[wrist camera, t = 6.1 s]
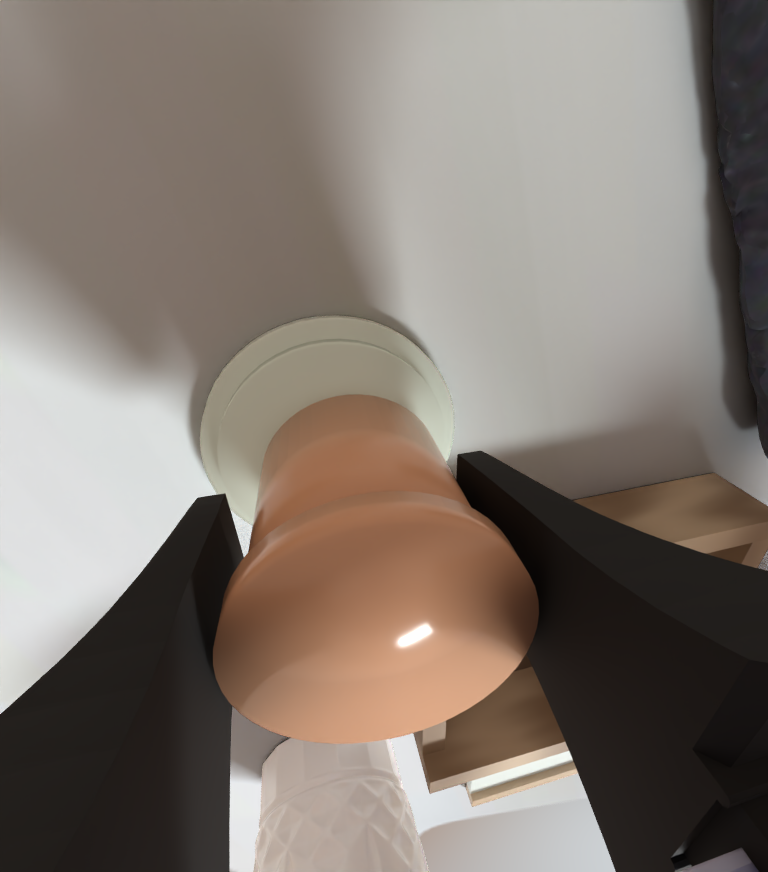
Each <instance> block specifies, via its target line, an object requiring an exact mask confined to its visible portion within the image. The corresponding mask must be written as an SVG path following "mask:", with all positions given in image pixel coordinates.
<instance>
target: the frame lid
mask: <svg viewBox="0 0 768 872" xmlns="http://www.w3.org/2000/svg"><path fill="white" fill-rule="evenodd" d="M577 773H578V771H577V769H576V767H575V764H574V762H573V759H572V757H571V754H570V752H569V751H567V752H563V753H560V754H557V755H554V756H550V757H547V758H544V759H541V760H537V761H534V762H531V763H528V764H525V765H521V766H518V767H515V768H512V769H508V770H505V771H502V772H499V773H495V774H492V775H489V776H486V777H482V778H479V779H476V780H473V781H470V782H467V785H466V790H467V793H468V796H469V799H470V802H471V805H472V807H474V806H477V805H480V804H483V803H486V802H489V801H492V800H496V799H499V798H502V797H505V796H508V795H511V794H514V793H517V792H521V791H524V790H527V789H530V788H533V787H536V786H539V785H542V784H545V783H549V782H552V781H555V780H558V779H561V778H564V777H567V776H570V775H573V774H577Z"/></svg>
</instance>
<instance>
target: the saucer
mask: <svg viewBox="0 0 768 872" xmlns="http://www.w3.org/2000/svg"><path fill="white" fill-rule="evenodd" d="M354 394H362V395H371V396H377V397H381V398H385V399H388V400H390V401H393V402H396V403H398V404H399V405H401V406H403V407H405V408H407V409H408V410H409V411H411V412H412V413H413V414H415V415H416V416H417V417H418V418H419V419H420V420H421V421H422V422H423V423H424V425H425V426H426V427H427V429H428V430H429V432H430V434H431V436H432V437H433V439H434V441H435V443H436V445H437V446H438V448H439V450H440V452H441V454H442V455H443V457H444V459H445V461H446V463H447V460H448V457H449V455H450V451H451V447H452V443H453V437H454V428H455V426H454V410H453V404H452V399H451V396H450V393H449V390H448V387H447V385H446V383H445V381H444V379H443V377H442V375H441V373H440V372H439V371H438V369H437V368H436V366H435V365H434V364H433V362H432V361H431V360H430V359H429V358H428V357H427V356H426V355H425V354H424V353H423V352H422V351H421V350H420V349H419V348H418V347H417V346H416V345H415V344H414V343H413V342H411V341H410V340H409V339H408V338H406V337H405V336H404V335H402V334H400V333H398V332H397V331H395V330H393V329H391V328H389V327H387V326H385V325H382V324H379V323H377V322H374V321H371V320H367V319H362V318H358V317H351V316H341V315H327V316H315V317H309V318H303V319H299V320H295V321H292V322H289V323H286V324H282V325H280V326H278V327H276V328H274V329H272V330H269V331H267V332H265V333H264V334H262V335H260V336H259V337H257V338H256V339H254V340H253V341H251V342H250V343H248V344H247V345H246V346H245V347H244V348H243V349H241V350H240V351H239V352H238V353H237V354H236V355H235V356H234V357H233V358H232V359H231V360H230V361H229V363H228V364H227V365H226V366H225V367H224V369H223V370H222V372H221V373H220V375H219V376H218V378H217V379H216V381H215V383H214V385H213V387H212V389H211V392H210V394H209V396H208V399H207V402H206V406H205V409H204V413H203V417H202V420H201V429H200V450H201V456H202V461H203V465H204V468H205V471H206V474H207V476H208V479H209V481H210V483H211V484H212V486H213V488H214V490H215V491H216V493H217V494H224V493H226V497H227V500H228V504H229V507H230V509H231V510H232V511H233V512H234V513H235V514H236V515H238V516H239V517H240V518H242V519H243V520H244V521H246V522H247V523H249V524H251V525H252V526H253V520H254V514H255V507H256V501H257V494H258V488H259V482H260V475H261V469H262V463H263V459H264V455H265V452H266V450H267V447H268V445H269V443H270V441H271V440H272V438H273V436H274V435H275V433H276V432H277V431H278V430H279V428H280V427H281V426H282V425H283V424H284V423H285V422H286V421H287V420H288V419H289V418H290V417H292V416H293V415H294V414H296V413H297V412H299V411H300V410H302V409H304V408H305V407H307V406H309V405H311V404H313V403H316V402H318V401H321V400H323V399H327V398H331V397H335V396H342V395H354Z"/></svg>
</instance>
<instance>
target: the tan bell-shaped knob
mask: <svg viewBox="0 0 768 872" xmlns="http://www.w3.org/2000/svg"><path fill="white" fill-rule="evenodd" d="M538 617H539V602H538V596H537V592H536V588H535V585H534V583H533V581H532V579H531V577H530V575H529V573H528V571H527V570H526V568H525V567H524V565H523V563H522V562H521V560H520V558H519V557H518V555H517V553H516V552H515V550H514V549H513V547H512V545H511V544H510V542H509V540H508V539H507V538H506V536H505V535H504V534H503V532H502V531H501V530H500V529H499V528H498V527H497V526H496V525H495V524H494V523H493V522H492V521H491V520H490V519H489V518H487V517H486V516H484V515H483V514H481V513H480V512H478V511H477V510H475V509H473V508H471V506H470V504H469V502H468V501H467V499H466V497H465V495H464V493H463V492H462V490H461V488H460V486H459V484H458V482H457V481H456V479H455V477H454V475H453V473H452V472H451V470H450V468H449V466H448V464H447V463H446V461H445V459H444V457H443V455H442V454H441V452H440V450H439V448H438V446H437V445H436V443H435V441H434V439H433V437H432V436H431V434H430V432H429V430H428V429H427V427H426V426H425V425H424V423H423V422H422V421H421V420H420V419H419V418H418V417H417V416H416V415H415V414H413V413H412V412H411V411H409V410H408V409H407V408H405V407H403V406H401V405H399V404H398V403H396V402H393V401H390V400H388V399H385V398H381V397H377V396H371V395H362V394H354V395H342V396H335V397H331V398H327V399H323V400H321V401H318V402H316V403H313V404H311V405H309V406H307V407H305V408H304V409H302V410H300V411H299V412H297V413H296V414H294V415H293V416H292V417H290V418H289V419H288V420H287V421H286V422H285V423H284V424H283V425H282V426H281V427H280V428H279V430H278V431H277V432H276V433H275V435H274V436H273V438H272V440H271V441H270V443H269V445H268V447H267V450H266V452H265V455H264V459H263V463H262V469H261V475H260V482H259V488H258V494H257V501H256V507H255V514H254V520H253V526H252V533H251V539H250V545H249V552H248V554H247V555H246V556H245V557H244V558H243V560H242V561H241V562H240V564H239V565H238V567H237V568H236V570H235V571H234V573H233V575H232V576H231V578H230V581H229V583H228V586H227V588H226V590H225V593H224V598H223V603H222V607H221V612H220V617H219V622H218V627H217V632H216V637H215V642H214V647H213V667H214V672H215V677H216V680H217V682H218V684H219V687H220V689H221V691H222V693H223V694H224V696H225V697H226V698H227V700H228V701H229V703H230V704H231V705H232V706H233V707H234V708H235V709H236V710H237V711H238V712H239V713H240V714H242V715H243V716H245V717H246V718H247V719H249V720H250V721H252V722H253V723H255V724H257V725H259V726H261V727H263V728H265V729H267V730H269V731H272V732H274V733H277V734H280V735H282V736H286V737H290V738H294V739H298V740H303V741H309V742H316V743H329V744H353V743H366V742H374V741H380V740H387V739H391V738H395V737H400V736H404V735H408V734H411V733H414V732H418V731H421V730H424V729H426V728H429V727H432V726H434V725H437V724H439V723H442V722H444V721H446V720H448V719H450V718H452V717H454V716H456V715H458V714H460V713H462V712H464V711H465V710H467V709H469V708H470V707H472V706H474V705H475V704H477V703H478V702H480V701H481V700H483V699H484V698H485V697H486V696H488V695H489V694H490V693H492V692H493V691H494V690H495V689H497V688H498V687H499V686H500V685H501V684H502V683H503V682H504V681H505V680H506V679H507V678H508V677H509V676H510V675H511V673H512V672H513V671H514V670H515V669H516V668H517V666H518V665H519V664H520V662H521V661H522V659H523V658H524V656H525V655H526V653H527V651H528V649H529V647H530V645H531V643H532V641H533V638H534V635H535V632H536V629H537V624H538Z"/></svg>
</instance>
